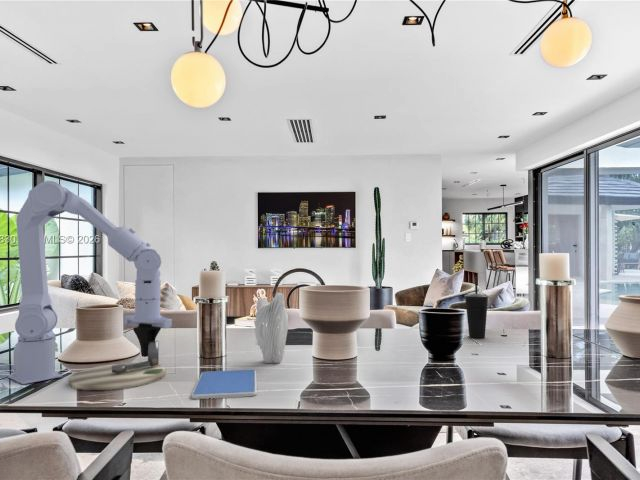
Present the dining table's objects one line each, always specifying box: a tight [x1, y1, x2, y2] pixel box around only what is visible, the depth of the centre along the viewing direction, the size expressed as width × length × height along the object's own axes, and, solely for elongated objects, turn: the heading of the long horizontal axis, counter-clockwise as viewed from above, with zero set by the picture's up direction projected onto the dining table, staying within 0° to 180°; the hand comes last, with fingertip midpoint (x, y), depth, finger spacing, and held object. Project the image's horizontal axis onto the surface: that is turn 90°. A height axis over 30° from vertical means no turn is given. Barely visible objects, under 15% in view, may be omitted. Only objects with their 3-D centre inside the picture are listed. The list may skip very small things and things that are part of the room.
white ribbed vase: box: [254, 292, 289, 364], centre depth 119 cm, size 8×8×18 cm
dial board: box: [67, 362, 167, 391], centre depth 104 cm, size 20×20×1 cm
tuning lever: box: [112, 340, 160, 373], centre depth 107 cm, size 11×3×6 cm, turn 135°
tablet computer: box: [190, 369, 258, 400], centre depth 99 cm, size 19×13×1 cm, turn 8°
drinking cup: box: [464, 275, 490, 340], centre depth 152 cm, size 8×8×20 cm
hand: (146, 356), depth 111 cm, fingers closed
